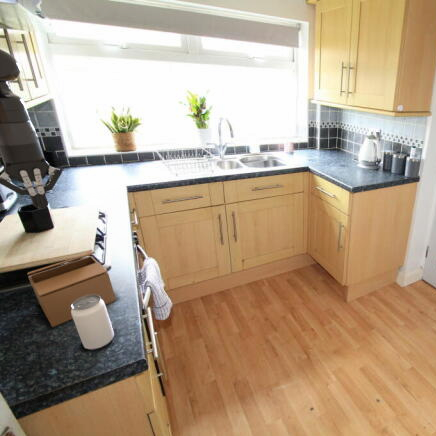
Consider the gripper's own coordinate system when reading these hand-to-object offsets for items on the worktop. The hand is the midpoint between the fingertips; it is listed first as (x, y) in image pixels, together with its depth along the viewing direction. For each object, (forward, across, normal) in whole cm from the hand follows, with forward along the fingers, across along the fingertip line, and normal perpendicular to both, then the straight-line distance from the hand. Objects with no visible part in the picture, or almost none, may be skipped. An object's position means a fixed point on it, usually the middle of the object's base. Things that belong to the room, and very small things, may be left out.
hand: (41, 207), depth 83 cm
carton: (+28, 0, +4) cm, 29 cm away
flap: (+17, 0, +1) cm, 17 cm away
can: (+29, +1, +25) cm, 38 cm away
